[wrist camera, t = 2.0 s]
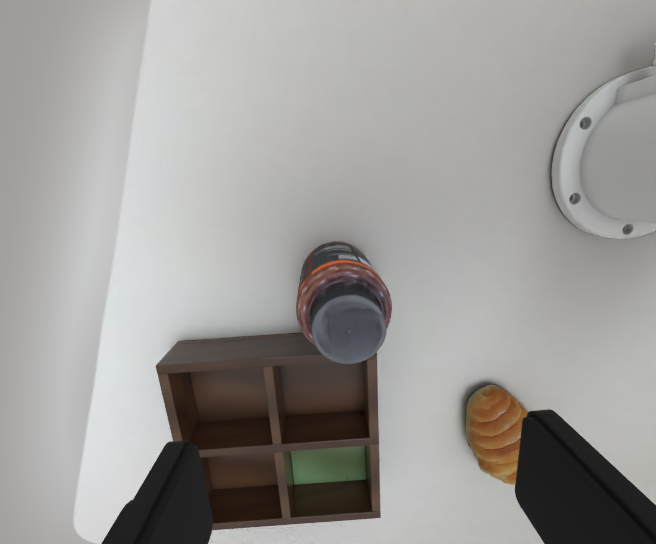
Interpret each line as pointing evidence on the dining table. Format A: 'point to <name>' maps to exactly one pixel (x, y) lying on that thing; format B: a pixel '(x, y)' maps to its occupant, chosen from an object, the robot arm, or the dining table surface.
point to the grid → (276, 428)
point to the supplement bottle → (342, 303)
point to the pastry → (495, 431)
